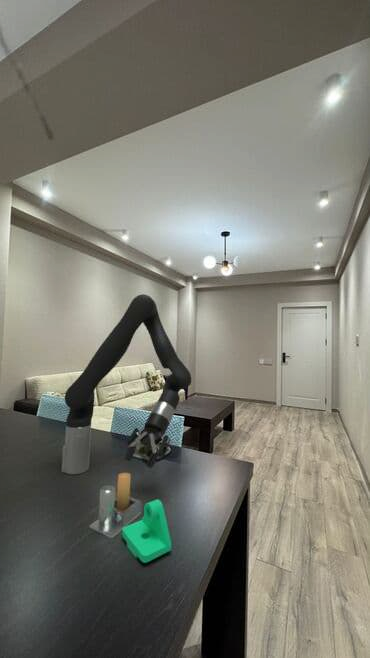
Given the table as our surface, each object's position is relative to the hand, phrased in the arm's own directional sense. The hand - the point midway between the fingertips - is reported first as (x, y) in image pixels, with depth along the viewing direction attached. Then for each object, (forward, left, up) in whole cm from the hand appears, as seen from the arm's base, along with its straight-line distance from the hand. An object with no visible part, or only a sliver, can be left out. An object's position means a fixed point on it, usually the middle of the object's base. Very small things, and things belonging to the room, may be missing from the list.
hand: (137, 463), depth 90 cm
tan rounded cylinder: (-3, -6, -12) cm, 14 cm away
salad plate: (+1, +39, -13) cm, 41 cm away
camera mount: (+5, -17, -13) cm, 22 cm away
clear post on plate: (-4, -8, -13) cm, 16 cm away
